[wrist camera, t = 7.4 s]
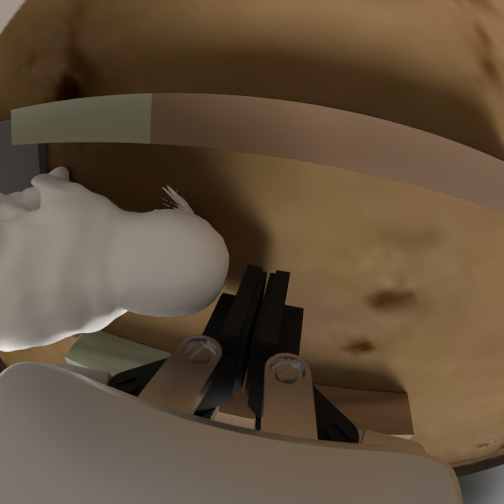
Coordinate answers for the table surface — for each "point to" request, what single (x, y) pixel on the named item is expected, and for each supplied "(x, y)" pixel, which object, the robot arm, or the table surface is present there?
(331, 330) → the table surface
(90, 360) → the parallel bars
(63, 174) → the white figurine
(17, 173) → the mat
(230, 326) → the robot arm
